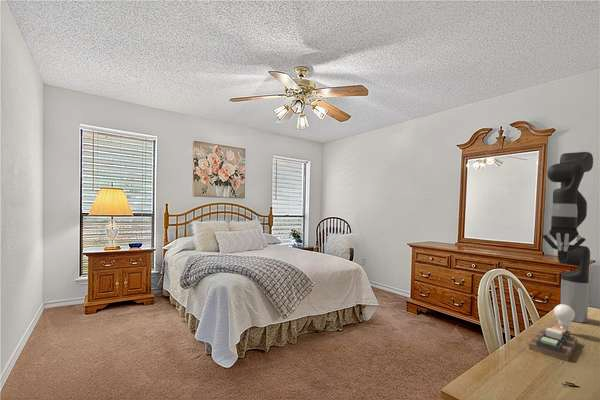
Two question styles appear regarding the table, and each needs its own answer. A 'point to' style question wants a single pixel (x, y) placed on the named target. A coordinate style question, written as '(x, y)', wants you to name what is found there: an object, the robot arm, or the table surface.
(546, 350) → the button board
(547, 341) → the sage button
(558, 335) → the offwhite button
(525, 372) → the table surface
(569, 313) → the lightbulb
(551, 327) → the terracotta button
